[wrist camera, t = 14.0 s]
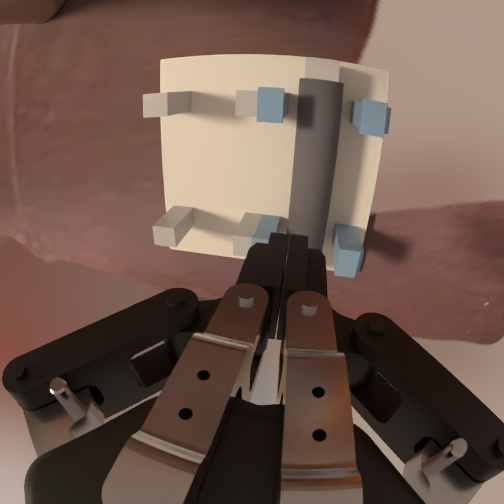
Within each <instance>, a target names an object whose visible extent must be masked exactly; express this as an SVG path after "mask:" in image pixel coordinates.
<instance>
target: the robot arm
mask: <svg viewBox="0 0 504 504" xmlns="http://www.w3.org/2000/svg"><path fill="white" fill-rule="evenodd" d="M64 2H65V0H0V25H3V24H41V23H44V22H46V21H47V20H49V19H50V18H52V17H53V16H54V15H55V14H56V13H57V12H58V10H59V9H60V8H61V6H62V5H63V4H64ZM288 241H289V234H287V233H278V232H271V234H270V238H269V241H268V244H267V243H258V242H257V243H255V244H254V245H253V246H251V247H250V248H249V250H248V253H247V256H246V258H245V261H244V264H243V266H242V269H241V272H240V274H239V277H238V280H237V283H236V285H234V286H232V287H230V288H229V289H228V290H227V291H226V292H225V294H224V296H223V298H220V299H216V300H205V301H198V297H197V295H196V294H195V293H194V292H193V291H191V290H188V289H185V288H172V289H169V290H166V291H164V292H162V293H159V294H157V295H155V296H153V297H150V298H148V299H146V300H144V301H141V302H139V303H137V304H135V305H132V306H130V307H128V308H126V309H124V310H121V311H119V312H117V313H115V314H112V315H110V316H108V317H106V318H103V319H101V320H99V321H97V322H95V323H92V324H90V325H88V326H86V327H83V328H81V329H79V330H77V331H74V332H72V333H70V334H68V335H66V336H63V337H61V338H59V339H57V340H54V341H52V342H50V343H48V344H46V345H43V346H41V347H39V348H37V349H34V350H32V351H30V352H28V353H26V354H23V355H21V356H19V357H16V358H15V359H13V360H12V361H10V362H9V364H8V365H7V366H6V367H5V369H4V372H3V376H2V382H3V385H4V387H5V389H6V390H7V391H8V392H9V393H10V394H11V395H12V397H13V398H14V399H15V400H16V401H17V402H18V404H19V405H20V406H21V407H22V409H23V411H24V415H25V418H26V422H27V425H28V429H29V432H30V435H31V438H32V441H33V445H34V448H35V451H36V454H37V456H38V458H37V459H36V460H35V461H34V462H33V463H32V464H31V466H30V467H29V469H28V471H27V474H26V477H25V484H24V490H25V504H468V503H469V502H470V500H471V499H472V498H473V496H474V495H475V494H476V493H477V491H478V490H479V489H480V487H481V486H482V484H483V483H484V482H486V481H487V480H489V479H491V478H492V477H494V476H496V475H497V474H499V473H501V472H502V471H504V423H503V422H502V421H501V420H500V419H499V418H498V417H497V416H496V415H495V414H494V413H493V412H492V411H491V410H490V409H489V408H488V407H487V406H486V405H485V404H484V403H482V402H481V401H480V400H479V399H478V398H477V397H476V396H475V395H474V394H473V393H472V392H471V391H470V390H469V389H467V387H465V385H463V384H462V383H461V382H460V381H459V380H458V379H457V378H456V377H455V376H454V375H452V373H450V372H449V371H448V370H447V369H446V368H445V367H444V366H443V365H442V364H441V363H439V362H438V361H437V360H436V359H435V358H434V357H433V356H432V355H431V354H429V353H428V352H427V351H426V350H425V349H424V348H423V347H422V346H420V345H419V344H418V343H417V342H416V341H415V340H414V339H412V338H411V337H410V336H409V335H408V334H407V333H406V332H404V331H403V330H402V329H401V328H400V327H399V326H398V325H396V324H395V323H394V322H393V321H392V320H391V319H389V318H388V317H386V316H384V315H382V314H378V313H365V314H362V315H360V316H359V317H358V318H357V319H356V320H353V319H350V318H348V317H345V316H342V315H340V314H339V313H337V312H336V311H334V310H333V309H332V307H331V303H330V302H329V300H328V299H327V274H326V257H325V256H324V254H323V253H322V251H321V250H320V249H312V248H308V236H305V235H296V234H290V241H289V248H288ZM287 251H288V255H287ZM286 260H287V261H286ZM280 303H281V305H280ZM279 309H280V313H279ZM278 315H279V322H278V330H277V340H282V341H281V348H280V355H279V366H278V383H277V397H276V404H273V405H256V404H253V403H250V400H251V396H252V392H253V389H254V386H255V383H256V380H257V376H258V374H259V371H260V367H261V364H262V361H263V358H264V351H265V349H266V347H267V342H268V338H269V339H274V338H275V333H276V326H277V321H278ZM163 340H164V344H162V345H160V346H158V347H156V348H154V349H152V350H150V351H148V352H146V353H144V354H142V355H140V356H138V357H136V358H134V359H132V360H131V358H132V357H133V356H134V355H135V354H137V353H139V352H141V351H143V350H145V349H147V348H149V347H151V346H153V345H155V344H157V343H159V342H161V341H163ZM379 373H380V374H381V375H382V376H383V377H384V378H385V379H386V380H387V381H388V382H389V383H390V384H391V385H392V386H393V387H394V388H395V389H396V390H397V391H396V390H395V389H394V388H393V387H392V386H391V385H390V384H389V383H388V382H387V381H386V380H385V379H384V378H383V377H382V376H381V375H380V374H379ZM160 390H162V391H161V393H160V395H159V396H157V397H154V398H152V399H149V400H147V401H145V402H143V403H141V404H140V405H138V406H136V407H134V408H132V409H131V410H129V411H127V412H126V413H123V414H122V415H120V416H118V417H116V418H114V419H112V420H110V421H109V422H107V423H105V424H104V420H105V419H106V418H108V417H110V416H112V415H114V414H116V413H118V412H120V411H122V410H124V409H126V408H128V407H130V406H132V405H134V404H136V403H138V402H140V401H142V400H143V399H145V398H147V397H149V396H151V395H153V394H155V393H157V392H159V391H160ZM351 405H352V406H353V408H354V409H355V410H356V411H357V412H358V413H359V414H360V415H361V417H362V418H363V419H364V420H365V421H366V422H367V423H368V424H369V426H370V427H371V428H372V429H373V430H374V431H375V432H376V433H377V434H378V435H379V437H380V438H381V439H382V440H383V441H384V442H385V443H386V444H387V445H388V446H389V447H390V449H391V450H392V451H393V452H394V453H395V454H396V455H397V456H398V457H399V458H400V460H401V461H403V463H404V464H405V467H404V471H403V476H402V475H401V474H400V473H399V472H398V470H397V469H396V468H395V467H394V466H393V464H392V463H391V462H390V461H389V460H388V458H387V457H386V456H385V455H384V454H383V453H382V451H381V450H380V449H379V448H378V447H377V445H376V444H375V443H374V442H373V440H372V439H371V438H370V437H369V436H368V435H367V434H366V433H365V432H364V431H363V430H362V429H361V428H359V427H358V426H357V425H355V424H353V418H352V408H351Z"/></svg>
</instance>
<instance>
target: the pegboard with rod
mask: <svg viewBox="0 0 504 504" xmlns="http://www.w3.org/2000/svg"><path fill="white" fill-rule="evenodd" d="M305 63H306V57H299V56H285V55H264V54H226V55H204V56H191V57H180V58H171V59H163V60H161V67H160V93H154V94H144V95H143V117H144V118H146V117H161V142H162V162H163V178H164V192H165V204H166V213H165V214H164V215H163V216H162V217H161V218H160V219H159V220H158V221H157V222H156V223H155V224H154V225H153V226H152V227H153V235H154V242H155V245H161V246H168V247H170V249H175V250H182V251H190V252H197V253H204V254H211V255H219V256H226V257H234V258H241V259H245V258H246V256H247V253H248V250H249V248H250V247H251V246H253V245H254V244H255V243H257V242H258V243H267V244H268V241H269V238H270V234H271V232H278V233H287V225H288V215H289V205H290V195H291V184H292V173H293V161H294V149H295V136H296V123H297V108H298V93H299V78H305ZM389 79H390V71H388V70H383V69H379V68H374V67H369V66H364V65H359V64H353V63H347V62H341V61H340V68H339V82H340V83H343V84H344V88H343V101H342V112H341V122H340V132H339V141H338V149H337V158H336V166H335V173H334V181H333V188H332V195H331V201H330V208H329V214H328V220H327V226H326V232H325V238H324V244H323V249H322V253H323V254H324V256H325V257H326V270H332V271H334V275H336V276H344V277H352V278H354V277H355V273H356V271H358V272H359V271H360V267H361V263H362V259H363V256H364V249H363V241H364V237H365V233H366V229H367V224H368V220H369V215H370V210H371V206H372V200H373V195H374V191H375V185H376V180H377V174H378V169H379V163H380V156H381V150H382V143H383V137H384V133H386V134H388V129H389V120H390V113H391V108H388V107H387V105H388V103H387V102H388V92H389V81H390V80H389ZM286 261H287V260H286Z"/></svg>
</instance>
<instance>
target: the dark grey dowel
mask: <svg viewBox="0 0 504 504" xmlns="http://www.w3.org/2000/svg"><path fill="white" fill-rule="evenodd" d="M339 68H340V61H338V60H331V59H322V58H313V57H306V63H305V78H299V93H298V108H297V123H296V136H295V149H294V161H293V173H292V184H291V195H290V205H289V215H288V225H287V234H289V241H290V234H296V235H305V236H308V248H312V249H320V250H321V251H322V249H323V244H324V238H325V232H326V226H327V220H328V214H329V208H330V201H331V195H332V188H333V181H334V173H335V166H336V158H337V149H338V141H339V132H340V122H341V112H342V101H343V88H344V84H343V83H340V82H339ZM289 241H288V248H289ZM287 255H288V251H287Z"/></svg>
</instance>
